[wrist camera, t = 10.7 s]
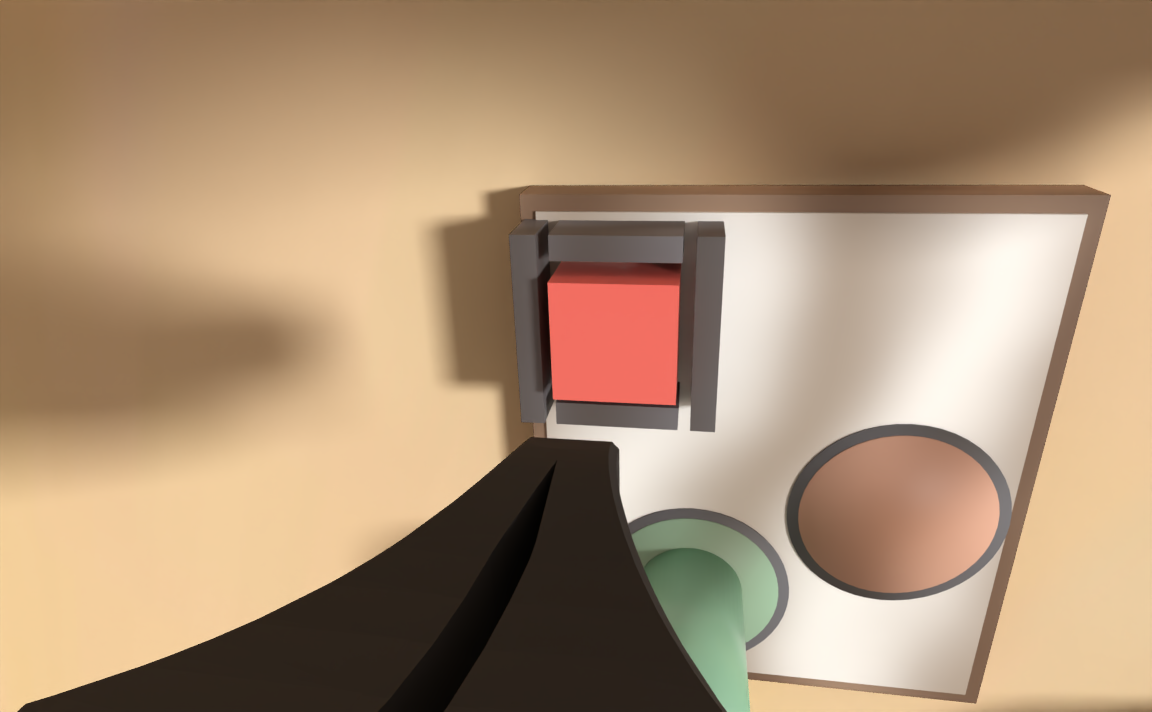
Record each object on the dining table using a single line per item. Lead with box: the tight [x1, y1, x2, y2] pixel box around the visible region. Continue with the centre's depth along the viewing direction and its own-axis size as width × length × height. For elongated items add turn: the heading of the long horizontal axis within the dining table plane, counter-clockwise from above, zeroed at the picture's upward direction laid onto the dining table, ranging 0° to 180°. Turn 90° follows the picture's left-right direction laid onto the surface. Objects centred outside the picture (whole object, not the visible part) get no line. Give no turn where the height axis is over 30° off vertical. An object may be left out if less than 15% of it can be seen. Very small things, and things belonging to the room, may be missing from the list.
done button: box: [548, 261, 681, 405], centre depth 17 cm, size 3×3×2 cm
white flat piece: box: [509, 185, 1111, 703], centre depth 19 cm, size 13×15×3 cm
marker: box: [644, 548, 750, 712], centre depth 18 cm, size 3×3×7 cm
